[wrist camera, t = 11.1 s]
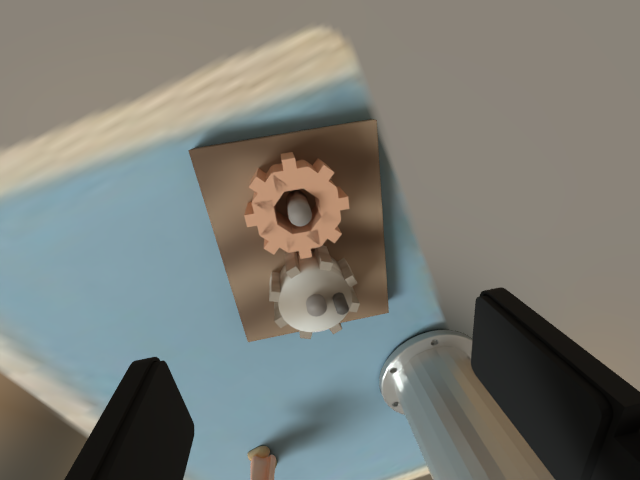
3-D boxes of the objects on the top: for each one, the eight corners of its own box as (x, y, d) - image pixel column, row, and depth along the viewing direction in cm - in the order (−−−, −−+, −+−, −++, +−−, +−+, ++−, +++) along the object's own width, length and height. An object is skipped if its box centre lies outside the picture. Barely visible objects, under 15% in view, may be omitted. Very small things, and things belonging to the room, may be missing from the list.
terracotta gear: (344, 233, 26) (353, 248, 23) (259, 249, 26) (257, 267, 23) (334, 144, 23) (343, 149, 20) (237, 161, 23) (231, 168, 20)
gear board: (383, 303, 32) (408, 346, 26) (249, 331, 31) (243, 382, 25) (370, 119, 24) (400, 121, 19) (193, 148, 23) (167, 160, 18)
